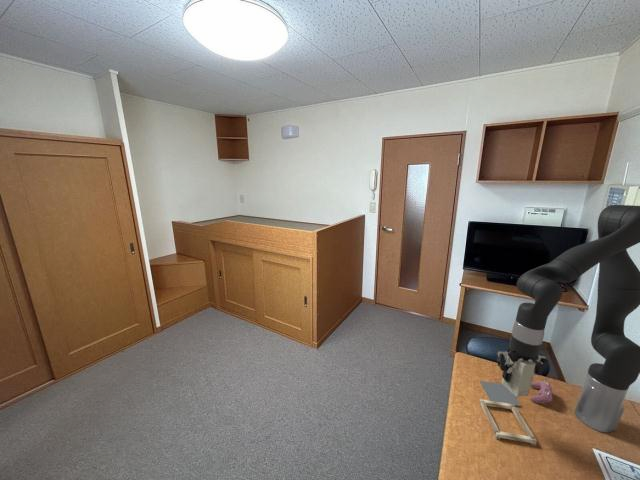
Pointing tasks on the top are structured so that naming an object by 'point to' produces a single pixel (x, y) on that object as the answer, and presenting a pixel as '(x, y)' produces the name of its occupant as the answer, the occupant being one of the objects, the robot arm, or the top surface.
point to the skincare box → (520, 378)
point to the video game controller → (542, 392)
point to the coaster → (499, 393)
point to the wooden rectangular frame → (499, 434)
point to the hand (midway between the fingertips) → (515, 381)
